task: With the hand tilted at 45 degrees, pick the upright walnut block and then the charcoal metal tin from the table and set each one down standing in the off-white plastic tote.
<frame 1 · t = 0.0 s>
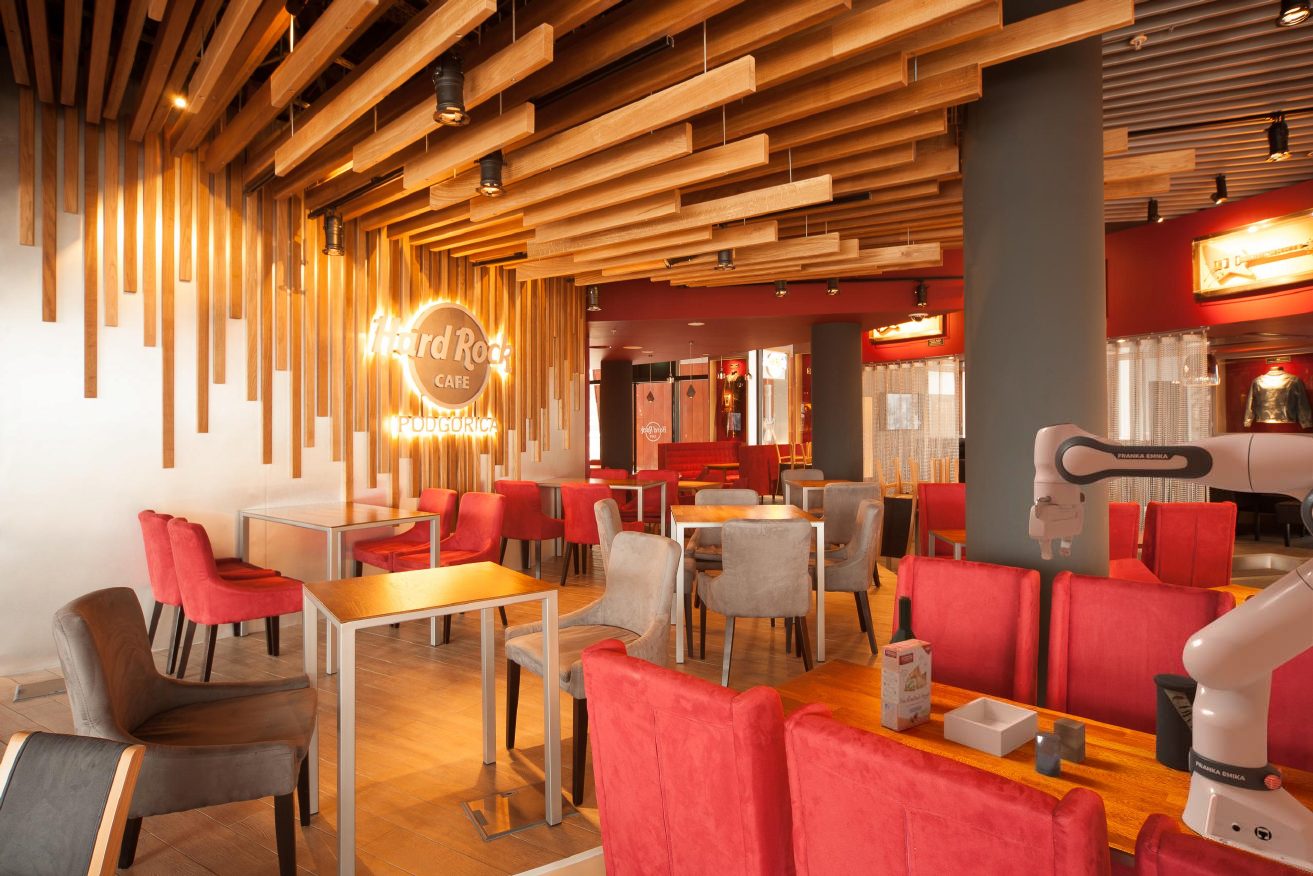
hand: (1056, 557, 159), 48 cm above the table, tool pointing down, fingers open, 8 cm apart
cracker box: (906, 724, 185), on the table
charcoal tin: (1047, 771, 158), on the table
wine bottle: (904, 703, 201), on the table
container: (1177, 764, 163), on the table
walnut block: (1069, 757, 166), on the table
tote: (991, 737, 177), on the table
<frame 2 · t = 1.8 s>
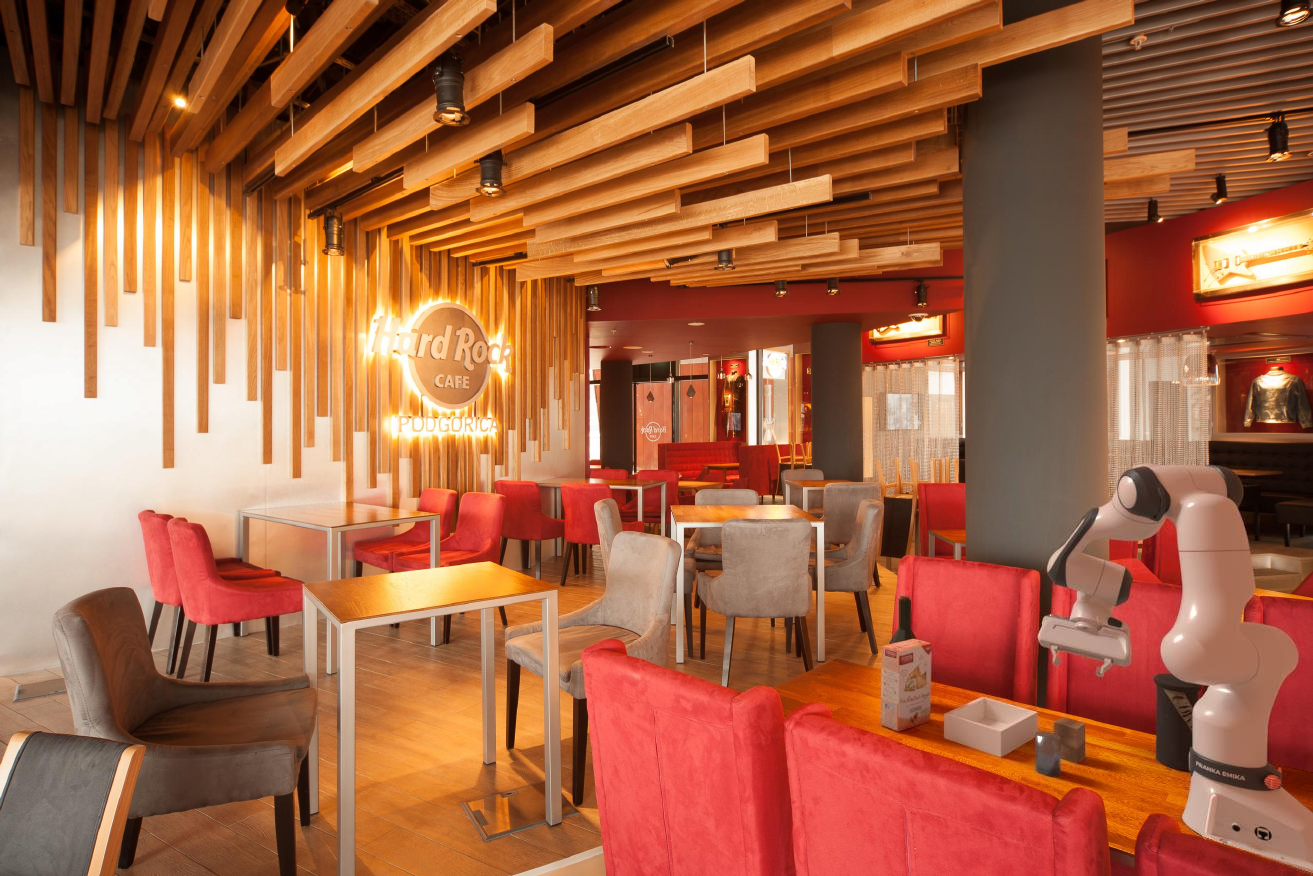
hand: (1077, 669, 175), 18 cm above the table, tool tilted 45°, fingers open, 8 cm apart
nothing on the table moved.
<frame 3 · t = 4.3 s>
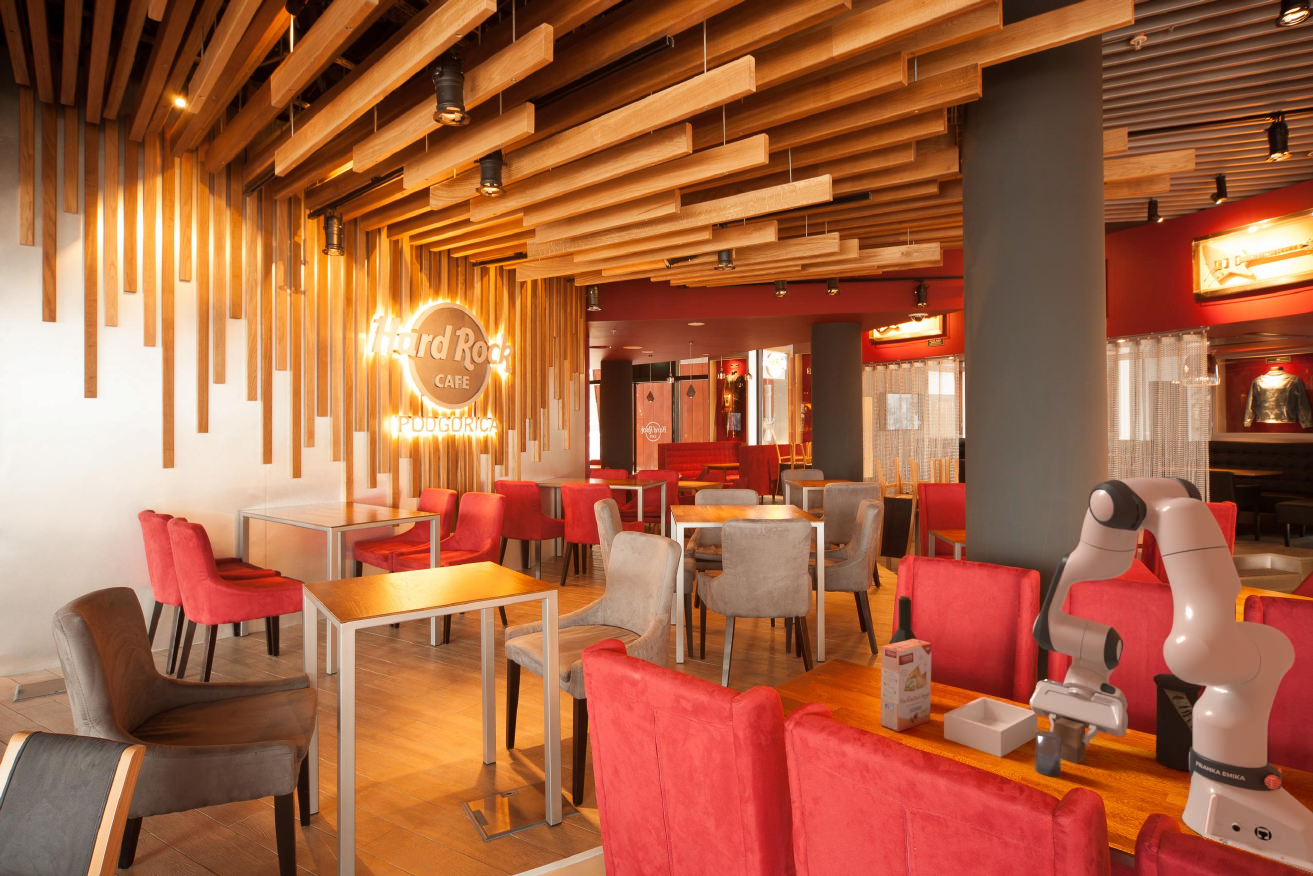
hand: (1068, 739, 166), 4 cm above the table, tool tilted 45°, fingers closed on walnut block, 5 cm apart
walnut block: (1069, 757, 166), on the table, touching gripper
everything else where it was.
when the fingers open (7 cm above the table, at t = 9.6 s): walnut block drops 1 cm, resting on tote.
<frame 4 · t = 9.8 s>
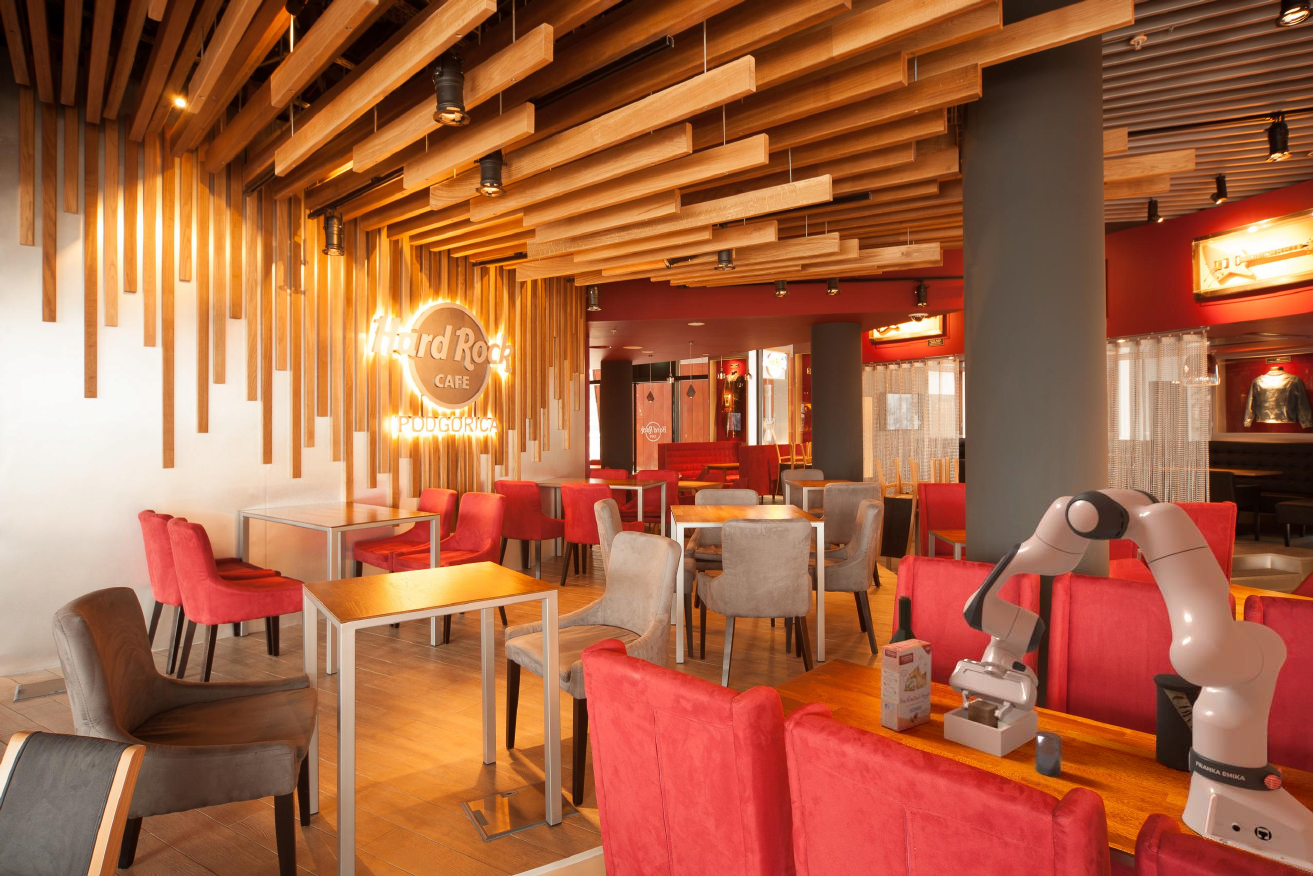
hand: (981, 714, 174), 7 cm above the table, tool tilted 45°, fingers open, 7 cm apart
walnut block: (982, 737, 174), point 1 cm above the table, touching tote
everything else where it was.
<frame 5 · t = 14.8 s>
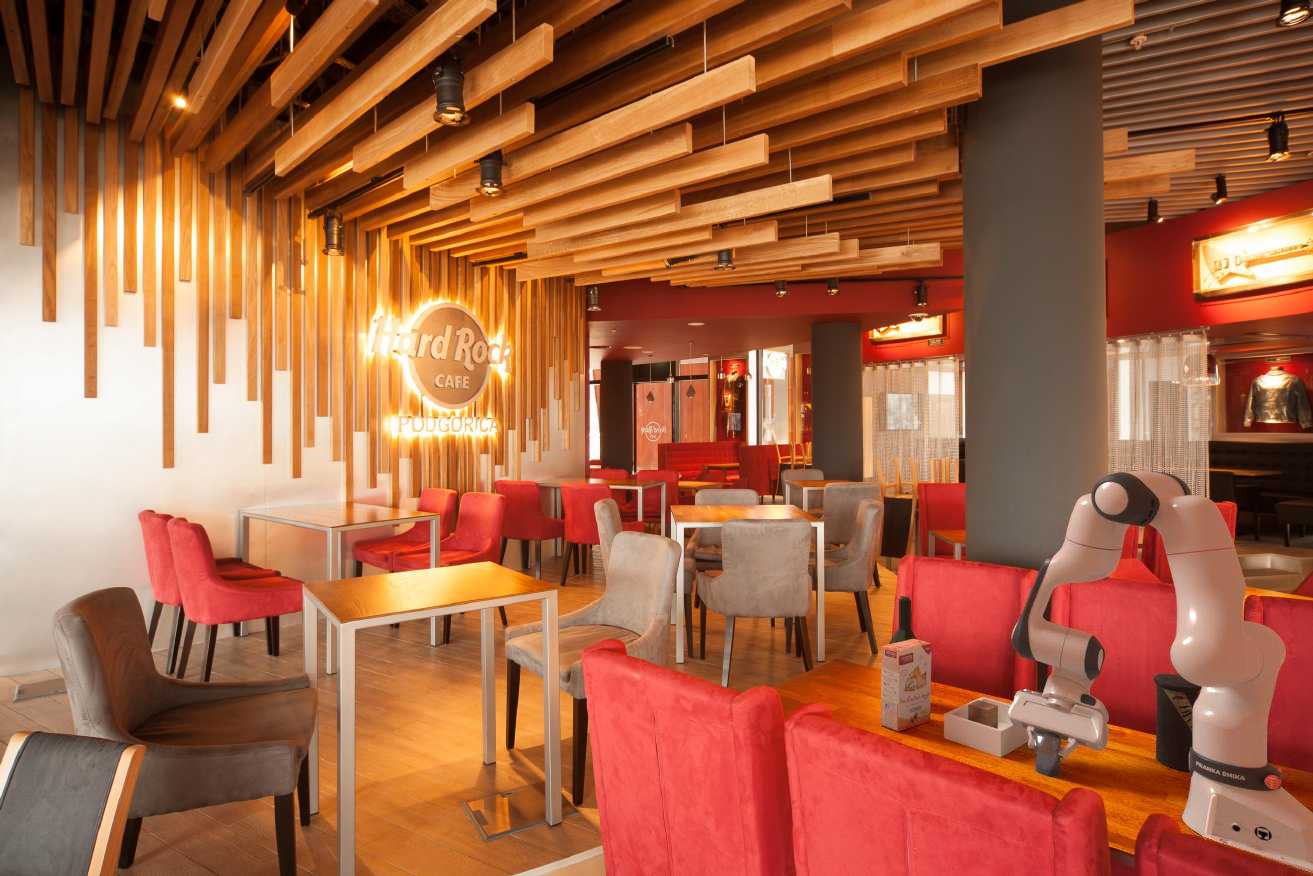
hand: (1046, 752, 158), 4 cm above the table, tool tilted 45°, fingers closed on charcoal tin, 5 cm apart
charcoal tin: (1047, 771, 158), on the table, touching gripper
everything else where it was.
when the fingers open (7 cm above the table, at t = 20.2 s): charcoal tin drops 1 cm, resting on tote.
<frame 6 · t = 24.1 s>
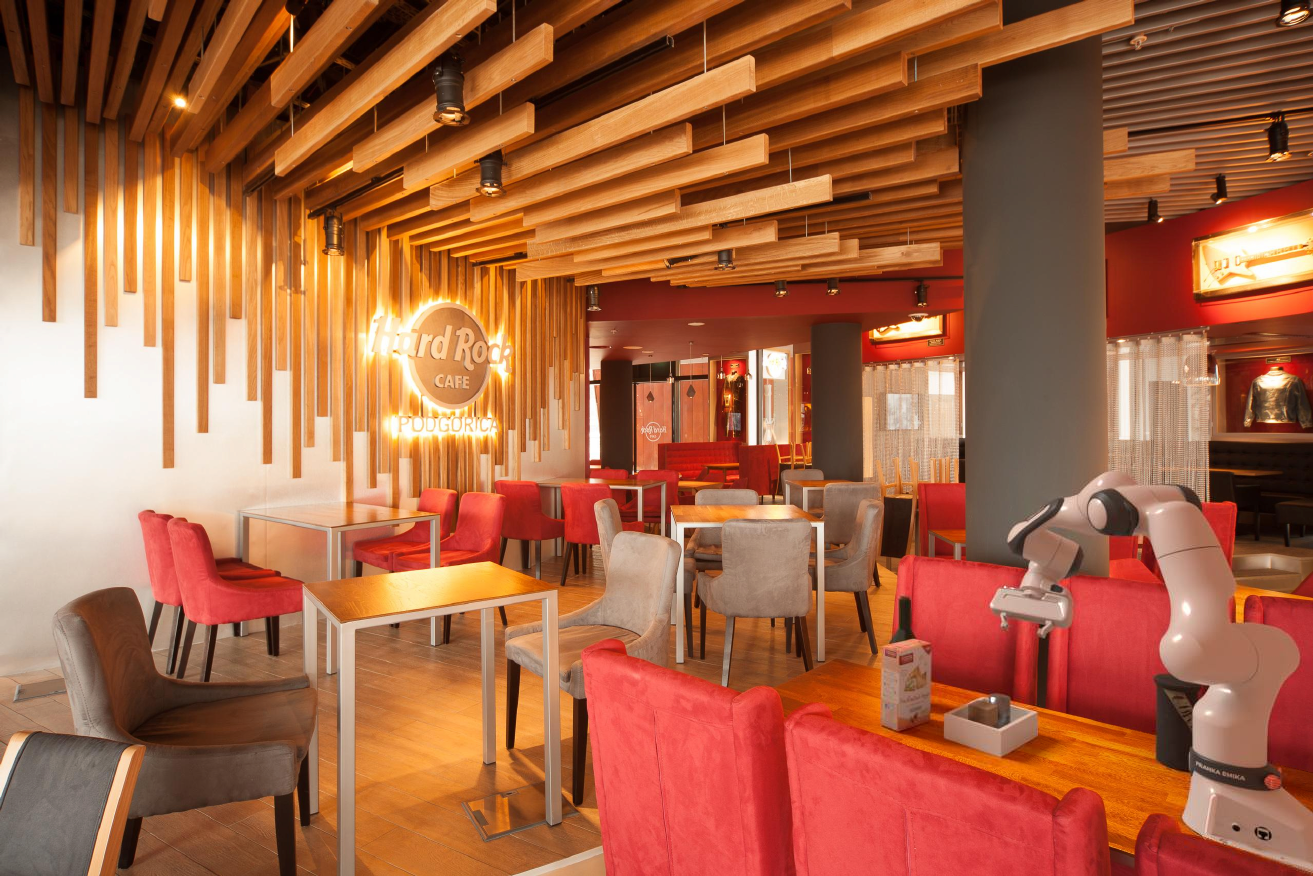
hand: (1021, 632, 189), 23 cm above the table, tool tilted 45°, fingers open, 8 cm apart
charcoal tin: (999, 728, 180), point 1 cm above the table, touching tote
everything else where it was.
at the end: walnut block inside the target area on the tote (4.4 cm from its centre), point 1.0 cm above the tote's base; charcoal tin inside the target area on the tote (4.5 cm from its centre), point 1.1 cm above the tote's base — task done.
